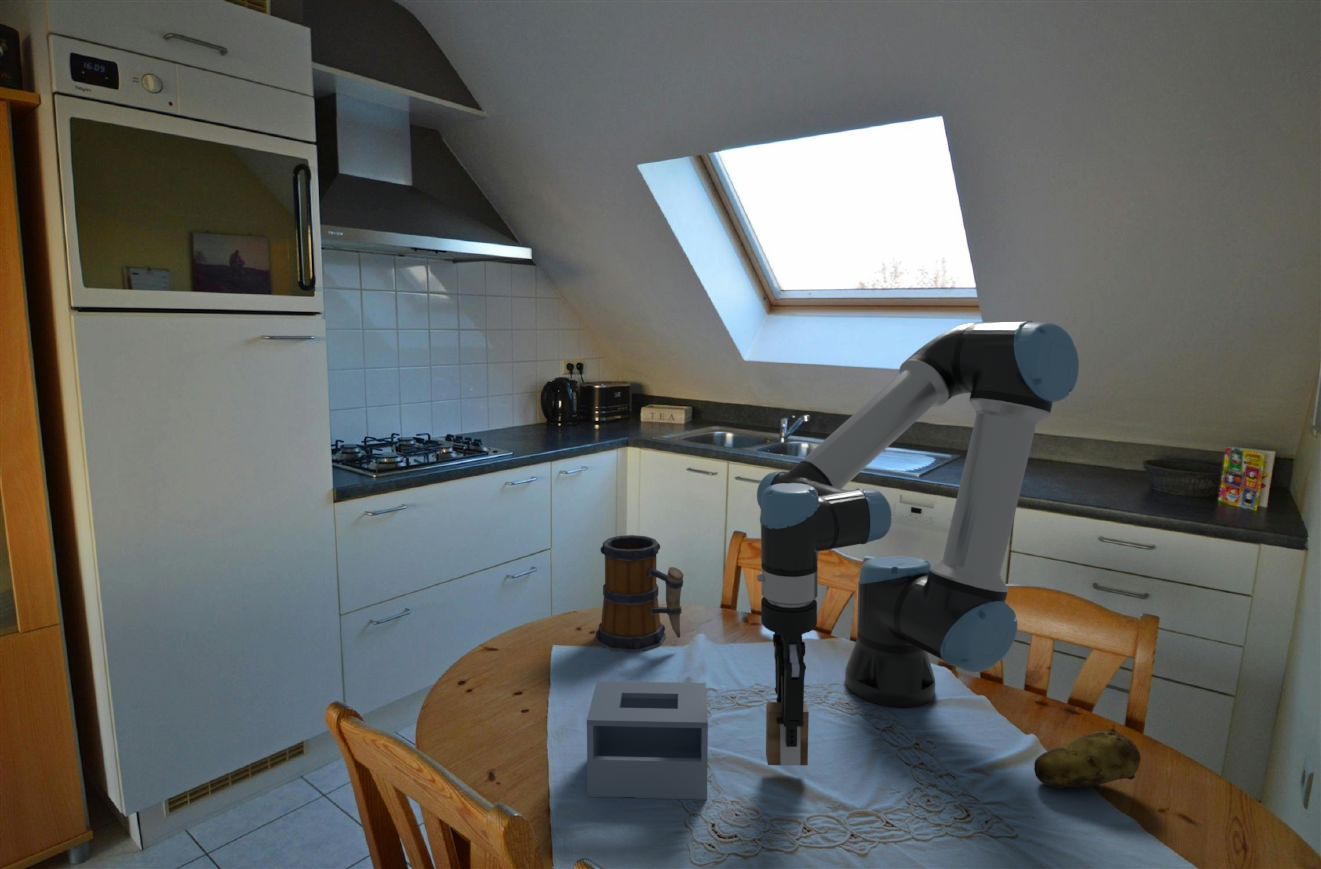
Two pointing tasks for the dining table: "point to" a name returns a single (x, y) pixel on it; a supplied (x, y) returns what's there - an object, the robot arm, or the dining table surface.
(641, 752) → the coin box
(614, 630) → the mug
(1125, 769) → the potato
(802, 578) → the robot arm
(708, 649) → the dining table surface
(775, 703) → the brown wooden block
